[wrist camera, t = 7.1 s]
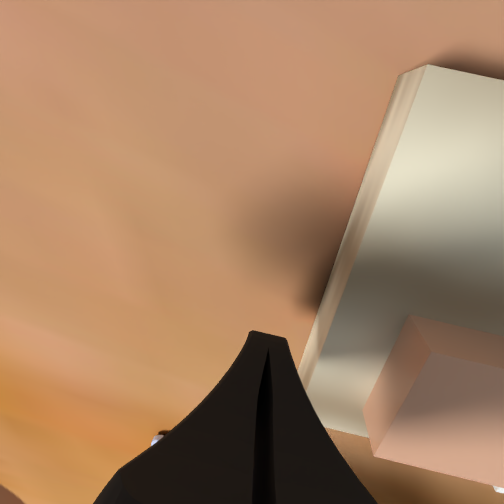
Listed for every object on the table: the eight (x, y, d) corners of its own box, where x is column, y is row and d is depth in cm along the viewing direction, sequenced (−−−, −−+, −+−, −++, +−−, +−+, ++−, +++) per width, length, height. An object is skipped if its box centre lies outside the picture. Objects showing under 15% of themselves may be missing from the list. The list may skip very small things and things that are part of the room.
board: (467, 419, 16) (496, 469, 14) (295, 377, 16) (295, 420, 14) (665, 132, 11) (769, 136, 8) (398, 75, 11) (427, 64, 8)
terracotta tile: (479, 438, 13) (509, 489, 11) (362, 410, 13) (373, 456, 12) (547, 346, 11) (596, 390, 9) (408, 314, 11) (431, 351, 10)
